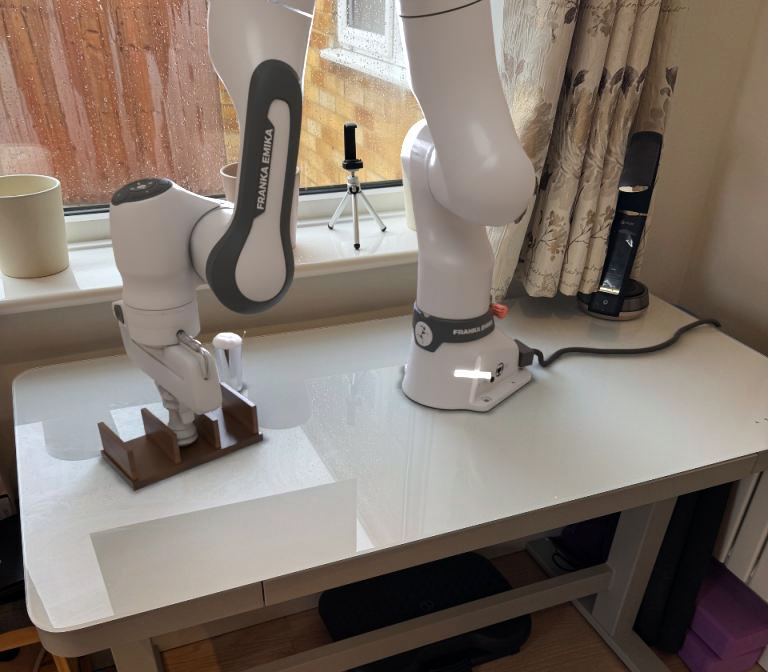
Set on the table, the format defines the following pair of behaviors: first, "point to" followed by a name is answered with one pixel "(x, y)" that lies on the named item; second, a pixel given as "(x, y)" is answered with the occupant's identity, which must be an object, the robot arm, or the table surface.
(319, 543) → the table surface
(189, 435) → the rook chess piece
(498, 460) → the table surface
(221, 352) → the milkshake
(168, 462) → the plate rack
